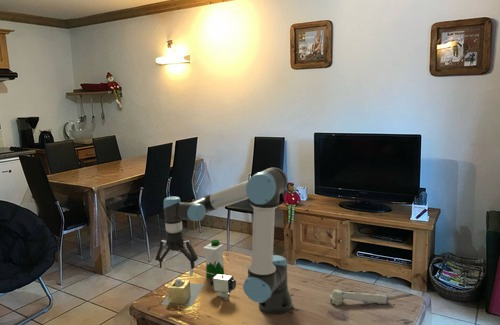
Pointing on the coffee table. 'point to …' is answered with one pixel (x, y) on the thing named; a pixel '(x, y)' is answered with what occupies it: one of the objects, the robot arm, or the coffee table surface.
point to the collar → (179, 292)
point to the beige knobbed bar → (357, 297)
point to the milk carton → (214, 259)
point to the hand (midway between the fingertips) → (177, 274)
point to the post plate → (194, 290)
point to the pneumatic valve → (223, 285)
